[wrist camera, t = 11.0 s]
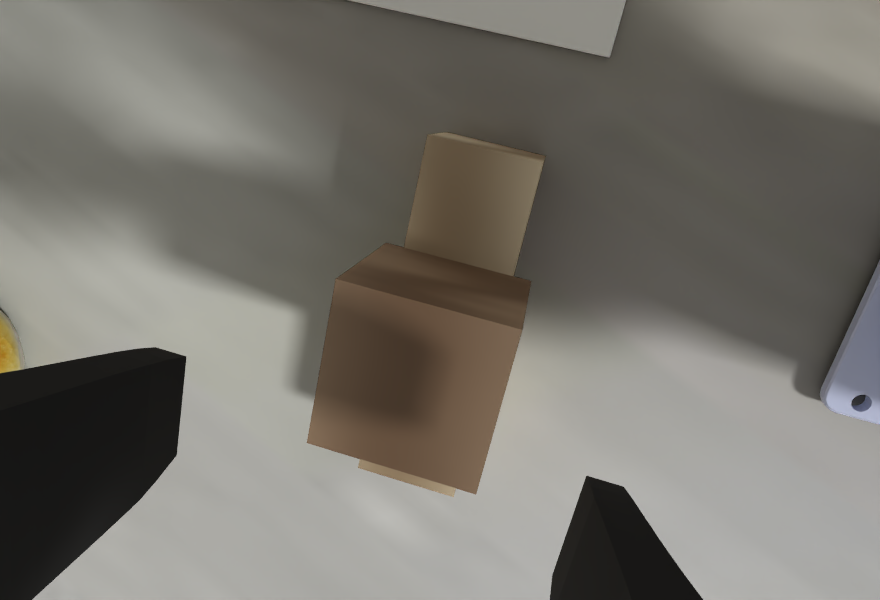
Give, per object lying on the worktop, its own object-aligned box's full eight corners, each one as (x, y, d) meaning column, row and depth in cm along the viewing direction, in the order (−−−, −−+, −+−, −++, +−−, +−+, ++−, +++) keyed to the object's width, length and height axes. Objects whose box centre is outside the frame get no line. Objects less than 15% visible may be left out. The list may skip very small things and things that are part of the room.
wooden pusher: (562, 159, 18) (563, 183, 12) (481, 451, 21) (446, 599, 15) (431, 128, 19) (361, 133, 12) (370, 418, 22) (288, 548, 15)
